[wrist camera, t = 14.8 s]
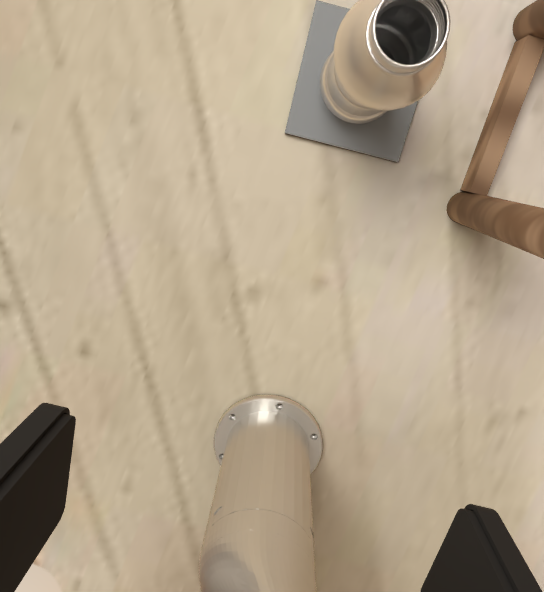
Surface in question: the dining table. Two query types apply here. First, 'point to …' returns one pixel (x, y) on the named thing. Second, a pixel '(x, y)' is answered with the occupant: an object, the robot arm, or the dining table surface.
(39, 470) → the robot arm
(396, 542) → the dining table surface
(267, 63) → the dining table surface
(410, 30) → the silver metal bottle
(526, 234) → the brown piece
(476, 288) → the dining table surface
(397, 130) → the mat
